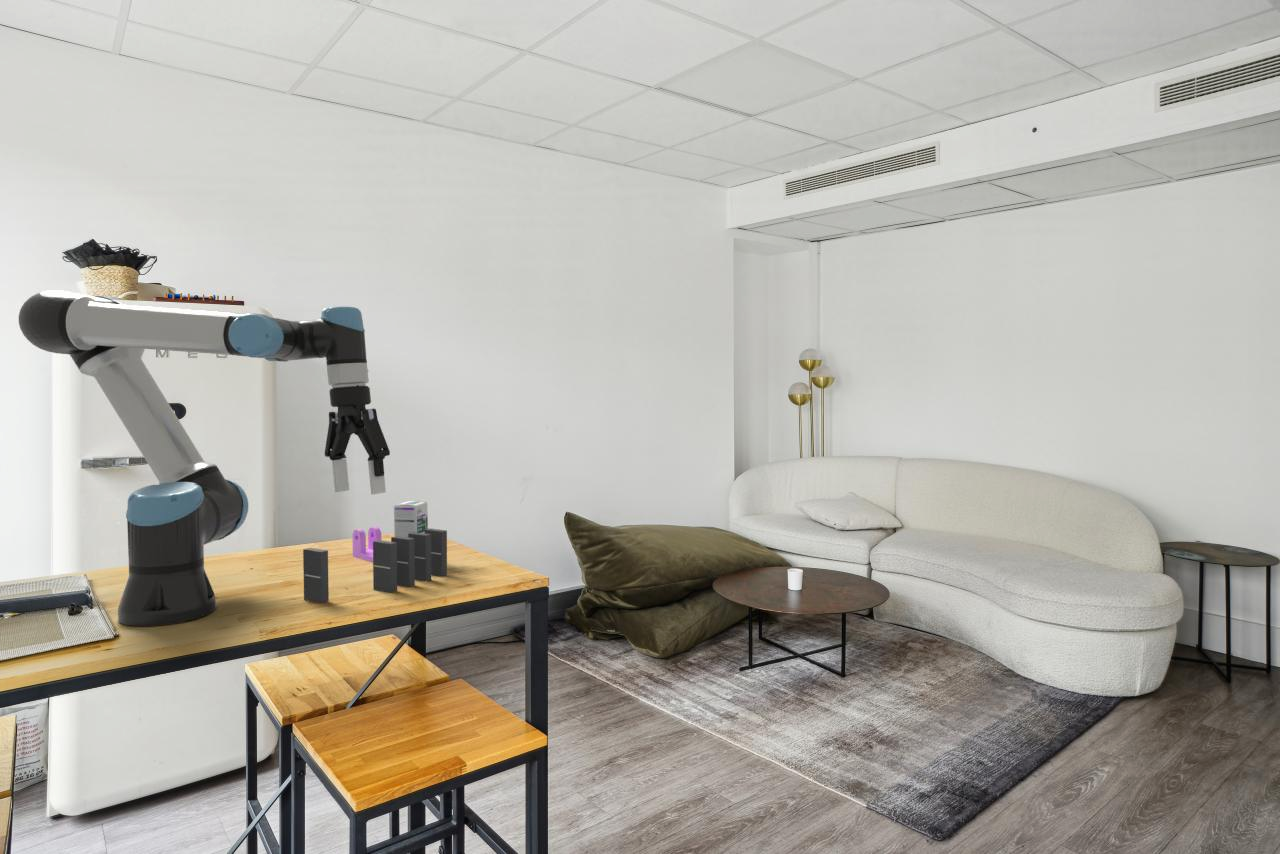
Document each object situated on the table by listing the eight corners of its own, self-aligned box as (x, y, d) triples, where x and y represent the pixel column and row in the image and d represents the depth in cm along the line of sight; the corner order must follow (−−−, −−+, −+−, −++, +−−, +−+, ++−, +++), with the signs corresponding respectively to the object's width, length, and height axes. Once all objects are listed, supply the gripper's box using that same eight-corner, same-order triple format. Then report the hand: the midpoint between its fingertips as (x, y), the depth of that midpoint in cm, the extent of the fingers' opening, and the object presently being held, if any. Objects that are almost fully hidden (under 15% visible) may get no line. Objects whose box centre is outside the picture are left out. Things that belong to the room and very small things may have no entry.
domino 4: (408, 578, 166) (408, 533, 165) (414, 577, 167) (413, 532, 167) (425, 581, 164) (425, 535, 163) (431, 580, 165) (431, 534, 165)
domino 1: (303, 599, 149) (302, 549, 149) (311, 597, 151) (310, 547, 150) (321, 603, 147) (320, 552, 146) (328, 601, 148) (328, 550, 148)
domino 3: (391, 584, 161) (391, 537, 161) (397, 582, 163) (396, 535, 162) (409, 587, 159) (408, 539, 159) (414, 585, 161) (414, 538, 160)
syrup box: (417, 567, 176) (416, 505, 176) (393, 565, 178) (393, 503, 177) (428, 561, 182) (428, 501, 181) (406, 560, 183) (405, 500, 182)
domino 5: (424, 573, 170) (424, 529, 170) (430, 572, 172) (429, 528, 171) (441, 576, 168) (441, 531, 168) (447, 575, 170) (447, 530, 169)
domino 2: (373, 589, 157) (372, 541, 156) (379, 587, 159) (379, 540, 158) (391, 592, 155) (390, 544, 154) (397, 590, 156) (397, 542, 156)
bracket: (352, 557, 187) (352, 528, 187) (373, 553, 191) (373, 525, 191) (381, 565, 179) (381, 536, 178) (402, 561, 183) (402, 532, 182)
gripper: (401, 381, 146) (412, 491, 147) (334, 388, 162) (344, 487, 163) (365, 383, 140) (377, 497, 141) (300, 390, 156) (311, 493, 157)
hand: (359, 492), depth 152 cm, fingers open, 13 cm apart
